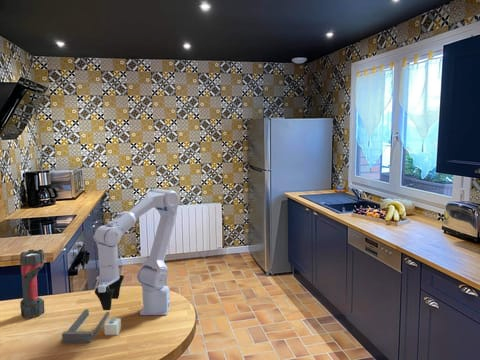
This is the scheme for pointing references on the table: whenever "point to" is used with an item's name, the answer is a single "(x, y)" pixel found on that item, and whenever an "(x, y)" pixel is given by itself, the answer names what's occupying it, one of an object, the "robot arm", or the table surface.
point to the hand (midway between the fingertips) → (111, 303)
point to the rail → (81, 336)
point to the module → (112, 326)
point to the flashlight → (31, 283)
